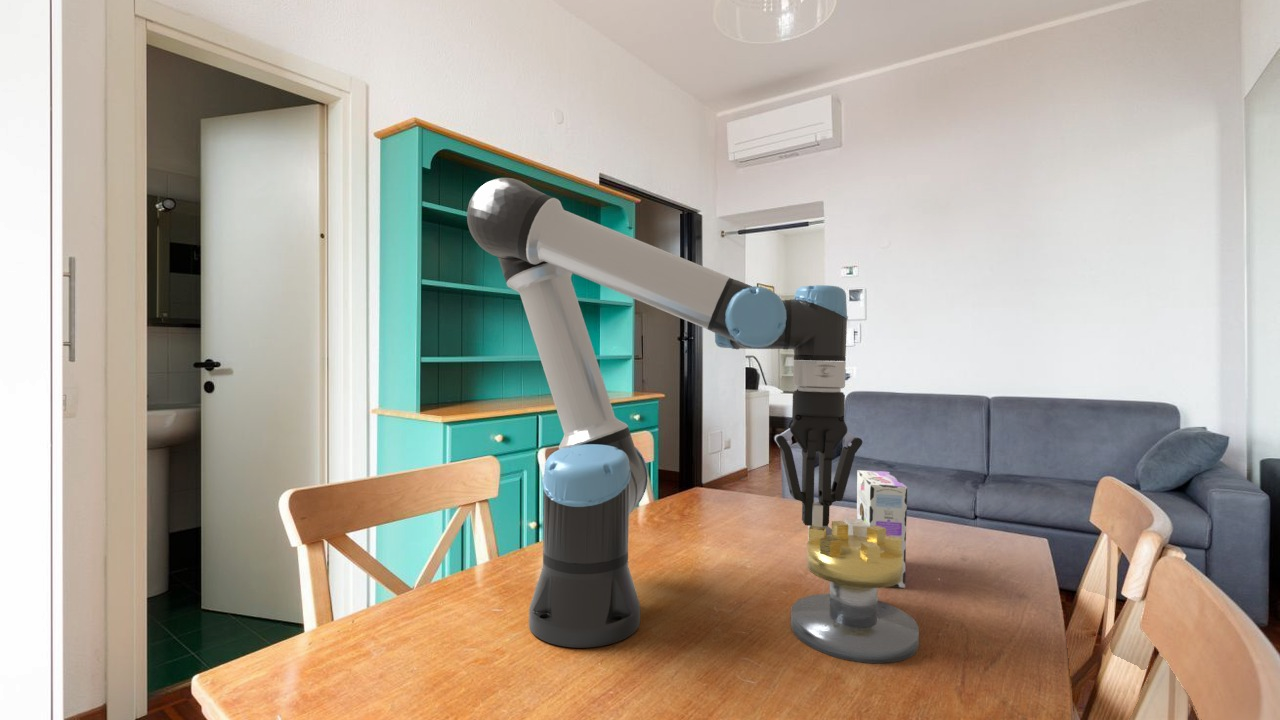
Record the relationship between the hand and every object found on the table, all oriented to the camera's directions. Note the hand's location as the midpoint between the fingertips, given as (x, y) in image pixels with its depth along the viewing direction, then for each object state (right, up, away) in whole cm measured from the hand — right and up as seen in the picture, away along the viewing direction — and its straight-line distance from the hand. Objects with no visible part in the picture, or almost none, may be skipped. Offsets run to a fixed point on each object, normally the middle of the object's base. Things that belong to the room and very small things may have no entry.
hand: (814, 546), depth 89 cm
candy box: (+15, -9, +13) cm, 21 cm away
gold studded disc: (+2, 0, -6) cm, 6 cm away
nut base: (+2, -8, -8) cm, 12 cm away
